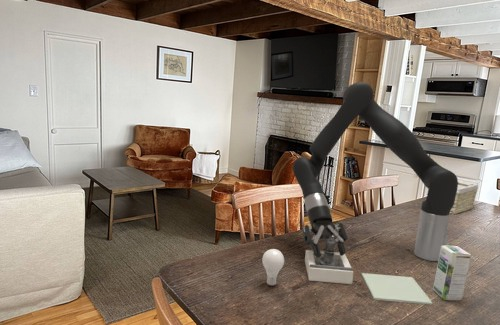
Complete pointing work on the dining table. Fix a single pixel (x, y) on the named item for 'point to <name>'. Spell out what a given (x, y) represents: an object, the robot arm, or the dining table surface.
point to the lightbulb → (272, 264)
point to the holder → (328, 269)
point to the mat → (395, 289)
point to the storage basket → (464, 197)
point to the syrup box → (451, 272)
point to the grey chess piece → (328, 254)
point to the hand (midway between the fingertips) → (331, 255)
